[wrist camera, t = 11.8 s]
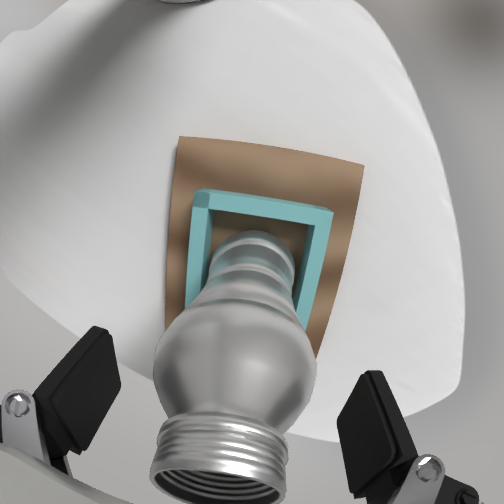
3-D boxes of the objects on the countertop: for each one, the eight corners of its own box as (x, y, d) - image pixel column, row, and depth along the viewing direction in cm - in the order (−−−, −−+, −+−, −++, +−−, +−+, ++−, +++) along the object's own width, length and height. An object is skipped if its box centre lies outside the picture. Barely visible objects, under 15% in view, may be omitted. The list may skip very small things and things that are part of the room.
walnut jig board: (184, 138, 23) (166, 131, 18) (358, 165, 23) (377, 164, 18) (170, 330, 28) (156, 353, 24) (313, 352, 28) (319, 379, 24)
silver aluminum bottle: (297, 287, 25) (342, 512, 5) (225, 300, 25) (160, 513, 6) (284, 217, 23) (353, 415, 4) (207, 233, 24) (53, 412, 4)
